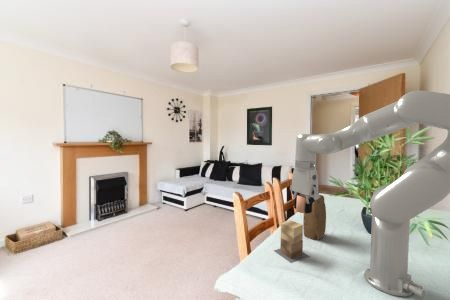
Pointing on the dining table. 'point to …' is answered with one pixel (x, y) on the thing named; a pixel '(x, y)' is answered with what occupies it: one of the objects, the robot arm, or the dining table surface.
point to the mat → (290, 258)
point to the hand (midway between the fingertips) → (302, 209)
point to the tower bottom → (292, 248)
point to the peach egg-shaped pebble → (301, 203)
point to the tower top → (291, 231)
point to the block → (315, 220)
